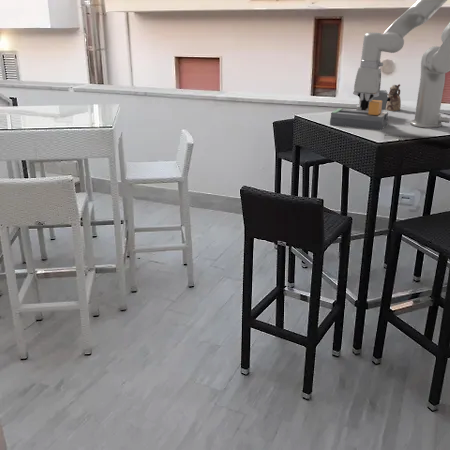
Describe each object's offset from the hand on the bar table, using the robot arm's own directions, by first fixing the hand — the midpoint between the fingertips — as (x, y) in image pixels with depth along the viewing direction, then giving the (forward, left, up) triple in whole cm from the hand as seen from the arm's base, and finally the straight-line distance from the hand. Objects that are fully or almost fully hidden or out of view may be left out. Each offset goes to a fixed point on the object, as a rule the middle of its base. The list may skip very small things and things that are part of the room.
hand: (364, 109), depth 209 cm
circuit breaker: (+1, -20, -7) cm, 21 cm away
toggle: (-5, 0, -3) cm, 6 cm away
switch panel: (+2, 0, -7) cm, 7 cm away
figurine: (-5, -39, -7) cm, 40 cm away
